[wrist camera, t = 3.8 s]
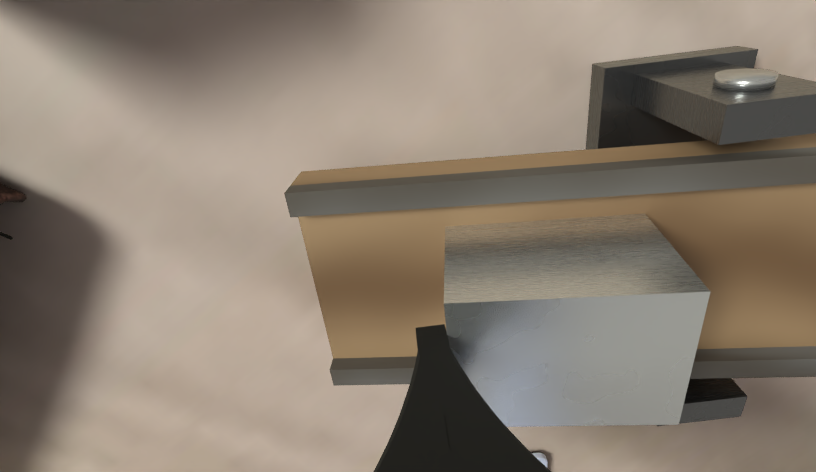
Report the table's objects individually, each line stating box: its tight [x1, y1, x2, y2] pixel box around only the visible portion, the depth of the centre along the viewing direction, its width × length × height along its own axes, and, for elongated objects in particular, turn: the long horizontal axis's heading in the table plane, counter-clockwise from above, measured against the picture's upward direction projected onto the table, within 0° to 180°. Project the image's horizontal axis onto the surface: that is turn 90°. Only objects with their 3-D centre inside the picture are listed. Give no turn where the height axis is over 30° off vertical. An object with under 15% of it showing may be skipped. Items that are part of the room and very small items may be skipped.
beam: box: [284, 133, 816, 385], centre depth 15 cm, size 8×26×2 cm, turn 96°
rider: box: [444, 214, 710, 427], centre depth 13 cm, size 4×6×4 cm
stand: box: [586, 46, 816, 426], centre depth 16 cm, size 12×5×6 cm, turn 6°
